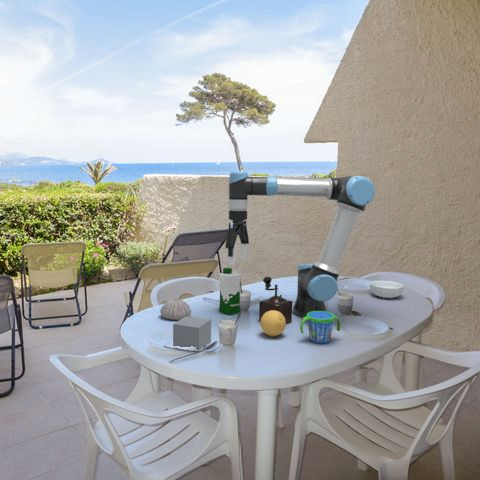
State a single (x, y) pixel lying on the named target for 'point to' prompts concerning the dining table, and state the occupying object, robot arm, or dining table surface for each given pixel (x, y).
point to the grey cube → (192, 332)
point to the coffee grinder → (275, 303)
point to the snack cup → (320, 325)
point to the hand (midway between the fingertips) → (237, 261)
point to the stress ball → (273, 323)
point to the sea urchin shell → (175, 309)
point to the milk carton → (229, 292)
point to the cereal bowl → (386, 288)
